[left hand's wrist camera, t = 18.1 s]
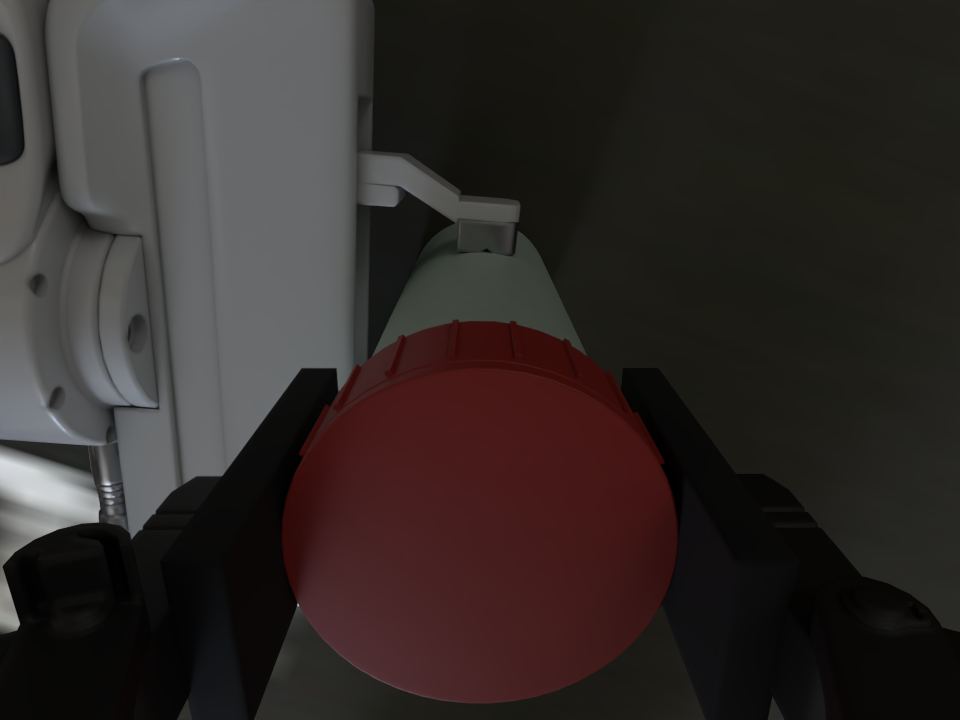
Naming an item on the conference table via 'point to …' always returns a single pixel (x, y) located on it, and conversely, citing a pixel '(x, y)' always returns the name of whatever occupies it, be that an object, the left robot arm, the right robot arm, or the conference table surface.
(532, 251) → the jar
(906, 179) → the conference table surface
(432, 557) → the lid
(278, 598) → the left robot arm
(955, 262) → the conference table surface
